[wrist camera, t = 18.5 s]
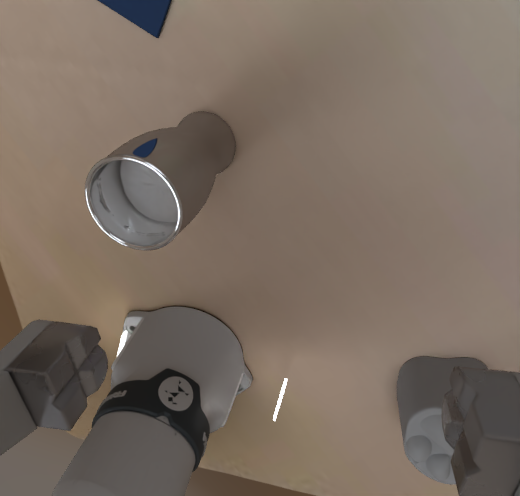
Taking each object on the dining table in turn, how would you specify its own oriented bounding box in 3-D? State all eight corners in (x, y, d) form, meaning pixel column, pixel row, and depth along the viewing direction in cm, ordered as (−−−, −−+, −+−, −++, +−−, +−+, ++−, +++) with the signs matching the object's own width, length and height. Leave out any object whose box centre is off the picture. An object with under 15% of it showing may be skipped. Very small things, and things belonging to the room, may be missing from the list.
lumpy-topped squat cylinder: (495, 358, 43) (527, 427, 36) (481, 432, 49) (505, 504, 42) (397, 355, 45) (408, 419, 38) (395, 426, 51) (404, 493, 44)
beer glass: (247, 116, 35) (191, 169, 22) (234, 186, 38) (179, 265, 26) (174, 97, 35) (78, 137, 22) (168, 167, 39) (82, 237, 26)
